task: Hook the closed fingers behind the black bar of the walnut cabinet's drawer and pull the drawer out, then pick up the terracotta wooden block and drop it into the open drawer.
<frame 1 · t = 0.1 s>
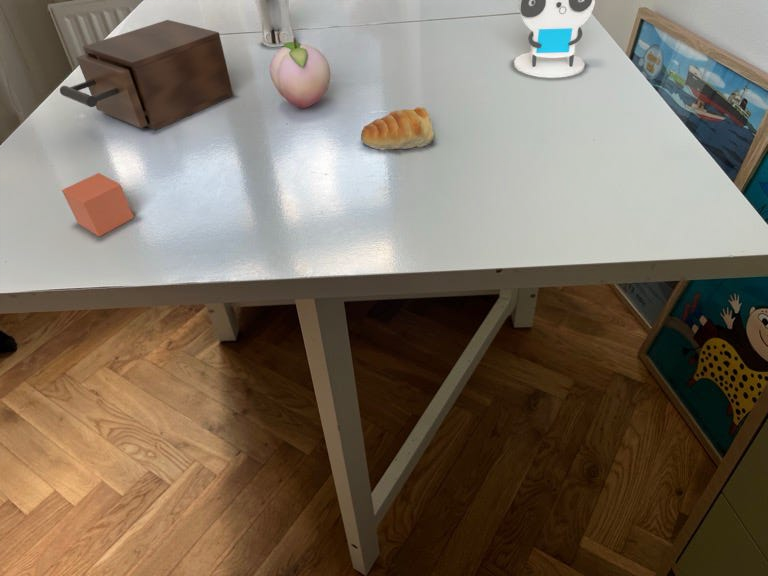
cabinet: (171, 103, 87), on the table
panda figurine: (546, 65, 92), on the table
block: (106, 220, 62), on the table
beer glass: (278, 43, 107), on the table
decorative fruit: (306, 108, 83), on the table
drawer: (134, 82, 81), point 5 cm above the table, slide at 0.5 cm
pastry: (401, 141, 74), on the table
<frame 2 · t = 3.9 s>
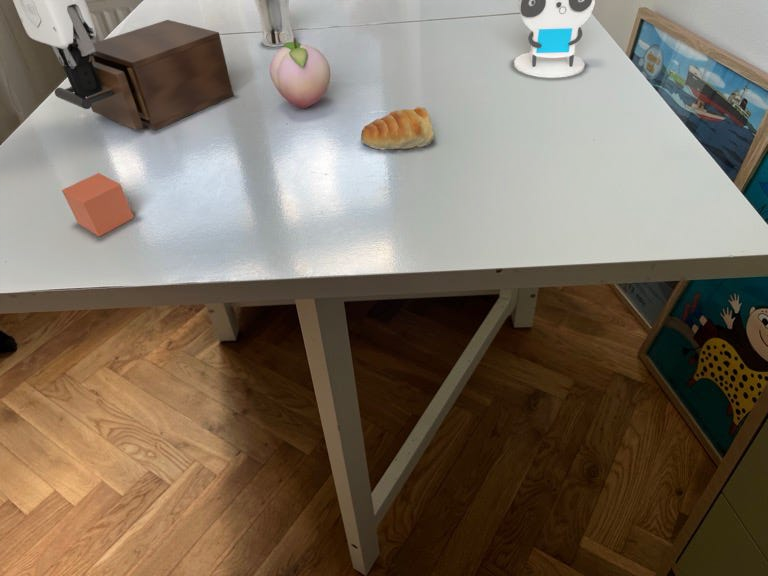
hand: (89, 93, 76), 6 cm above the table, tool pointing down, fingers closed
drawer: (130, 84, 80), point 5 cm above the table, slide at 1.3 cm
everything else where it was.
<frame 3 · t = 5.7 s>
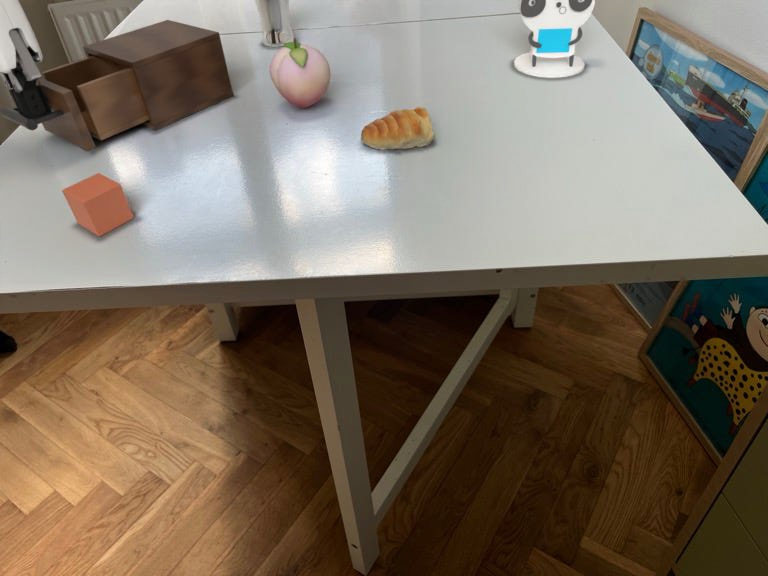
hand: (38, 117, 72), 5 cm above the table, tool pointing down, fingers closed
drawer: (83, 102, 76), point 5 cm above the table, slide at 8.6 cm, touching gripper
everything else where it was.
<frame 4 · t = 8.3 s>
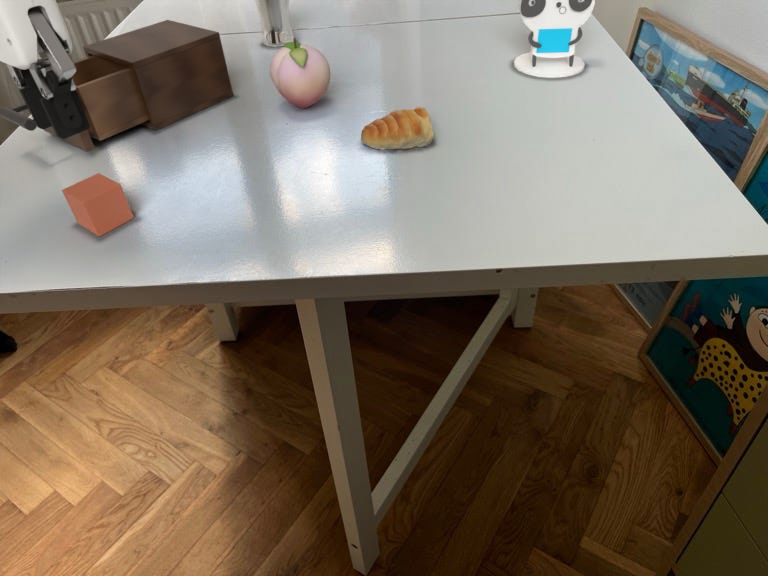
hand: (63, 126, 55), 11 cm above the table, tool pointing down, fingers open, 3 cm apart
drawer: (82, 102, 76), point 5 cm above the table, slide at 8.8 cm
everything else where it was.
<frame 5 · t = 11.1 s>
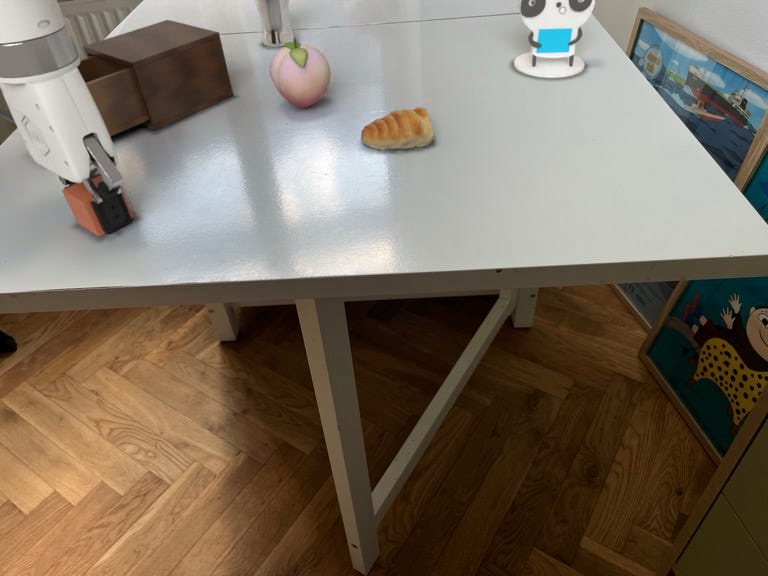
hand: (105, 218, 62), 0 cm above the table, tool pointing down, fingers closed on block, 4 cm apart
block: (106, 220, 62), on the table, touching gripper
everything else where it was.
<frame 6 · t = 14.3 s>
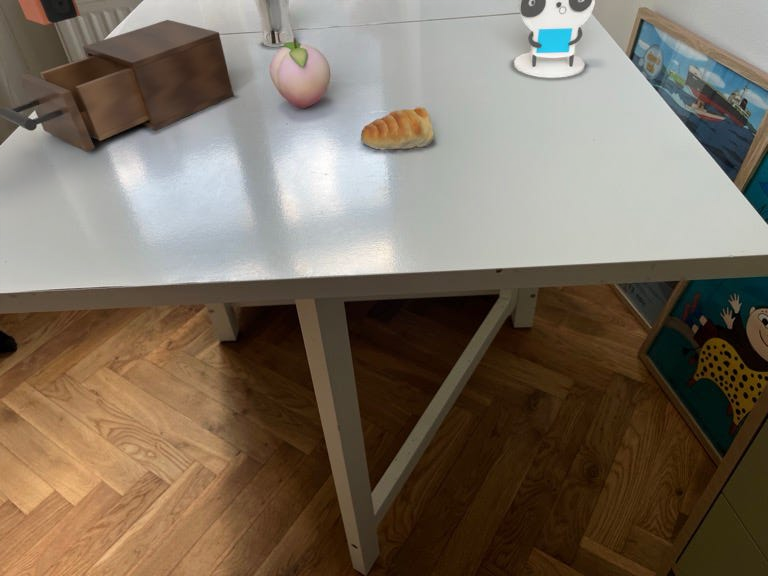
hand: (52, 14, 64), 17 cm above the table, tool pointing down, fingers closed on block, 4 cm apart
block: (53, 17, 65), point 17 cm above the table, touching gripper
everything else where it was.
when the fingers open (8 cm above the table, at t = 18.0 s): block stays where it is, resting on drawer.
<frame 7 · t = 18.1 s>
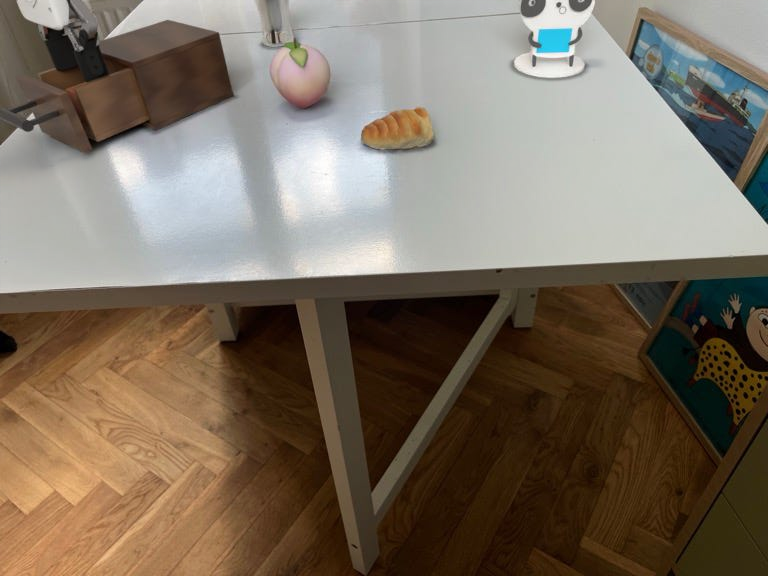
hand: (82, 72, 75), 8 cm above the table, tool pointing down, fingers open, 6 cm apart
block: (100, 117, 79), point 2 cm above the table, touching drawer
drawer: (79, 103, 76), point 5 cm above the table, slide at 9.2 cm, touching block, gripper
everything else where it was.
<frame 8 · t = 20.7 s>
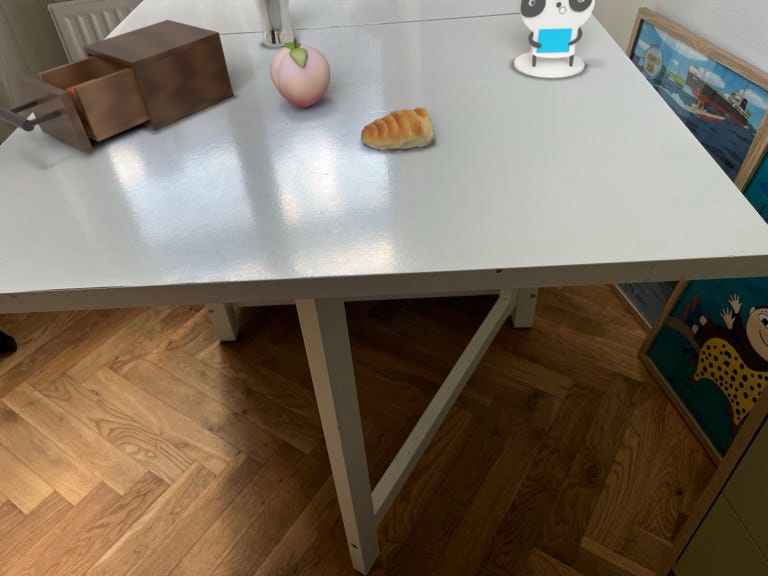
drawer: (80, 103, 76), point 5 cm above the table, slide at 9.1 cm, touching block
everything else where it was.
at the end: drawer slide at 9.1 cm; block inside the target area in the drawer (1.0 cm from its centre), point 2.0 cm above the cabinet's base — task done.
